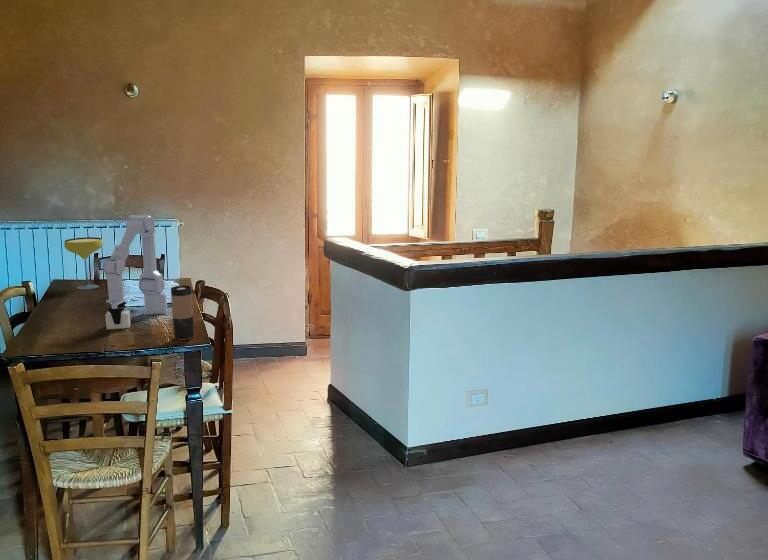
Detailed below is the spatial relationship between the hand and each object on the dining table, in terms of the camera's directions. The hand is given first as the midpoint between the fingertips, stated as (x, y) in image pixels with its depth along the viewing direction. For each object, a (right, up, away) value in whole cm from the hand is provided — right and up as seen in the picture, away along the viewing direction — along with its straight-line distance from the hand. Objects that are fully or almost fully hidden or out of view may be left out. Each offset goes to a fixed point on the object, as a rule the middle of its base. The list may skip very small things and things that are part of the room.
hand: (118, 321), depth 288 cm
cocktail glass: (-45, +13, +76) cm, 89 cm away
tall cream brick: (0, -2, 0) cm, 2 cm away
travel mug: (+32, -6, -16) cm, 36 cm away
